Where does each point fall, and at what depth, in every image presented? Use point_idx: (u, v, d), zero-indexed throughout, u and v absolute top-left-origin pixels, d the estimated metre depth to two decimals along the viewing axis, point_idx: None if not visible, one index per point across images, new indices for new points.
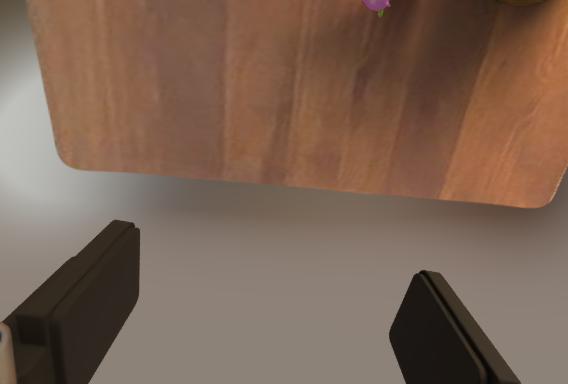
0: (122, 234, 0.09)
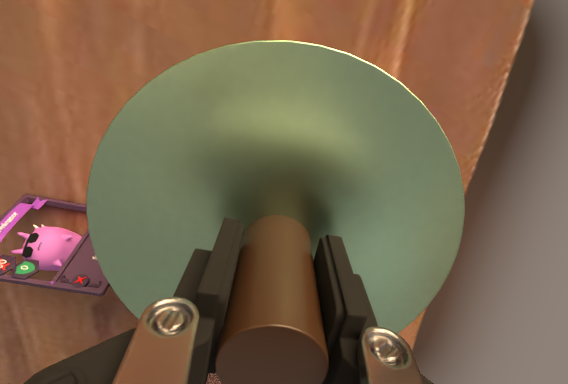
0: (236, 229, 0.10)
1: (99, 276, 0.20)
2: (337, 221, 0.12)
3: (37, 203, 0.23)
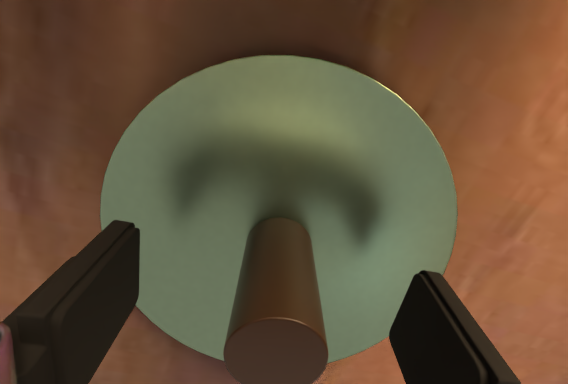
0: (122, 234, 0.09)
1: None
2: (337, 223, 0.13)
3: None
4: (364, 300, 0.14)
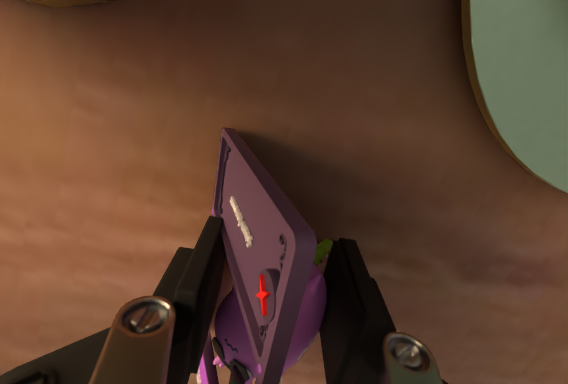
0: None
1: (274, 238, 0.06)
2: None
3: None
4: None
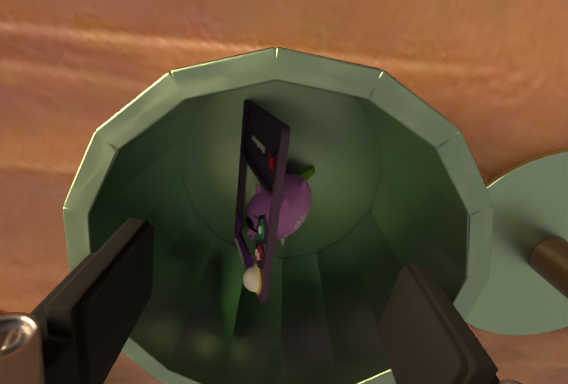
0: (138, 231, 0.09)
1: (274, 138, 0.13)
2: (545, 224, 0.20)
3: (237, 221, 0.20)
4: None
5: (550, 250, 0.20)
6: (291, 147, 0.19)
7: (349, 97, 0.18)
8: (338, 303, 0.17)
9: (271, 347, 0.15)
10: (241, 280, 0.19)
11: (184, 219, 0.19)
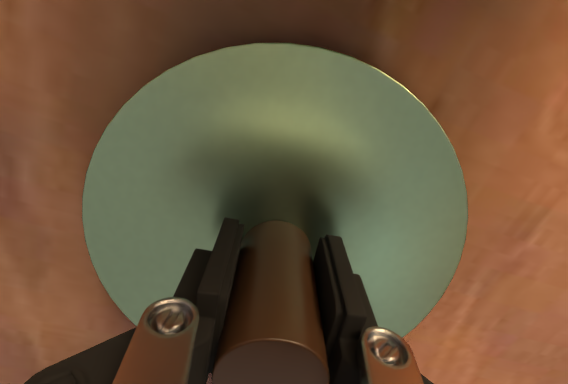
0: (237, 229, 0.10)
1: None
2: (338, 226, 0.12)
3: None
4: None
5: (302, 241, 0.11)
6: None
7: None
8: None
9: None
10: None
11: None
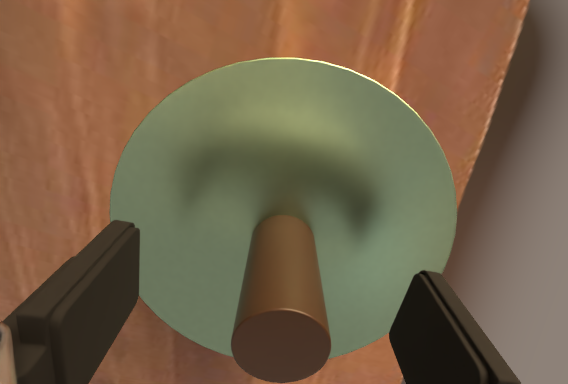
0: (122, 234, 0.09)
1: None
2: (339, 220, 0.13)
3: None
4: (365, 296, 0.15)
5: (307, 234, 0.13)
6: None
7: None
8: None
9: None
10: None
11: None
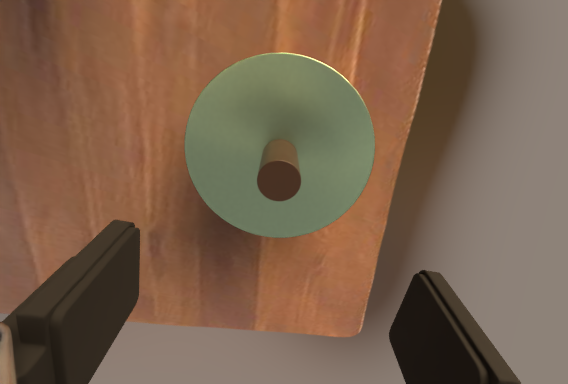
0: (122, 234, 0.09)
1: None
2: (310, 142, 0.24)
3: None
4: (327, 190, 0.26)
5: (292, 147, 0.23)
6: None
7: None
8: None
9: None
10: None
11: None
